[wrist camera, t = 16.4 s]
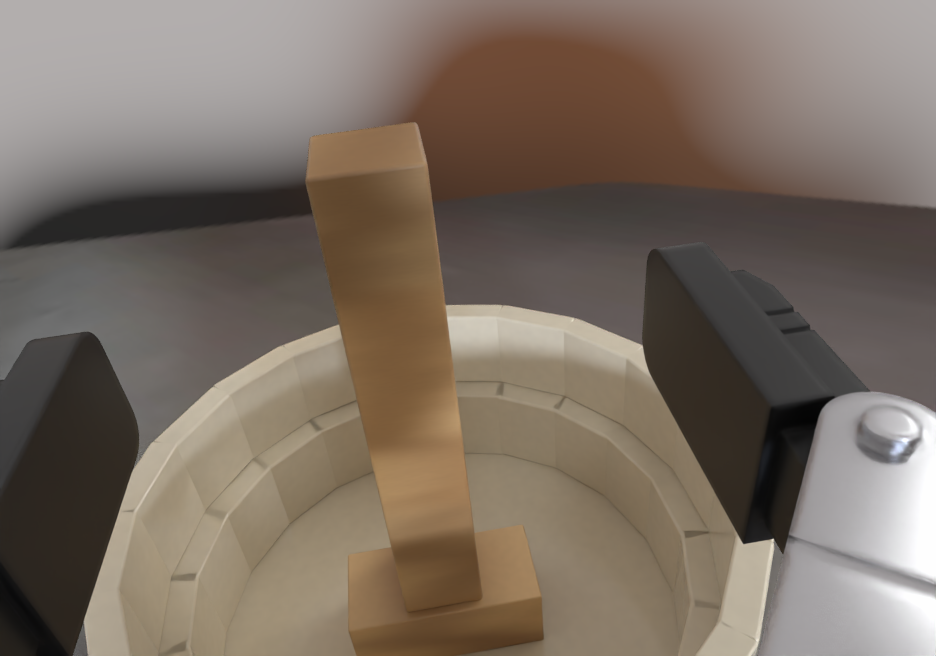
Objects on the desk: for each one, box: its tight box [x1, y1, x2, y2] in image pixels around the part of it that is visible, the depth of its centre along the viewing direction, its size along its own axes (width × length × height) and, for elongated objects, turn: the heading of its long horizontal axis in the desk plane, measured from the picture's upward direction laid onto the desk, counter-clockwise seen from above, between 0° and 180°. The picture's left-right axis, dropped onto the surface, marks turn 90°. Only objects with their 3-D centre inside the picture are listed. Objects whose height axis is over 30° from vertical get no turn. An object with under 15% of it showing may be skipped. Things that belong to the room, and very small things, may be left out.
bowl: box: [84, 305, 775, 656], centre depth 19 cm, size 16×16×6 cm
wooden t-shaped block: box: [306, 122, 544, 656], centre depth 17 cm, size 5×2×14 cm, turn 99°
